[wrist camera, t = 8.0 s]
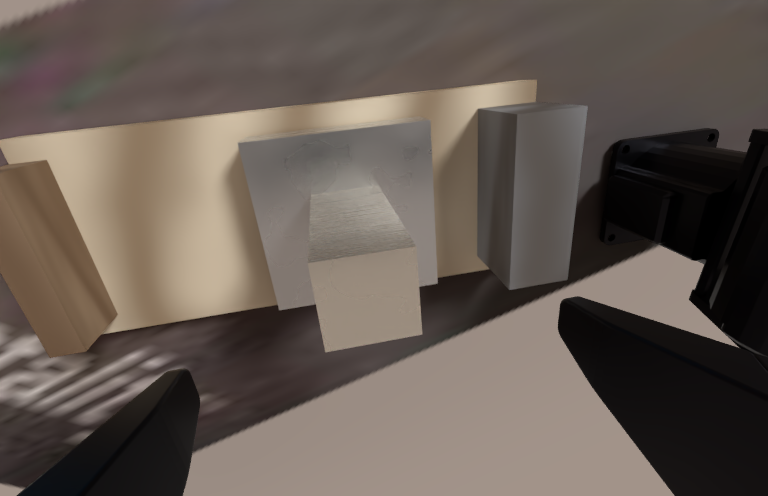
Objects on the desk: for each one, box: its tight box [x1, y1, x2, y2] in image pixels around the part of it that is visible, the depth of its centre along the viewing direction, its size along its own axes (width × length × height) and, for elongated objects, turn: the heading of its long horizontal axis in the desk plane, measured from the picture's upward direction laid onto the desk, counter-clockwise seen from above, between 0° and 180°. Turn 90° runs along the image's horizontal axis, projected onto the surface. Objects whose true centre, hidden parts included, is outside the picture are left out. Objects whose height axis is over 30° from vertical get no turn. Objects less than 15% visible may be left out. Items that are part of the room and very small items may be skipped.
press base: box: [0, 80, 588, 358], centre depth 18 cm, size 24×10×6 cm, turn 96°
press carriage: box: [238, 116, 438, 352], centre depth 15 cm, size 8×8×9 cm
